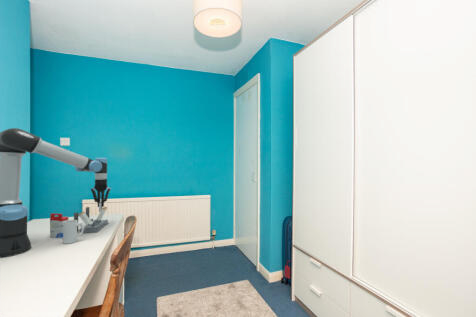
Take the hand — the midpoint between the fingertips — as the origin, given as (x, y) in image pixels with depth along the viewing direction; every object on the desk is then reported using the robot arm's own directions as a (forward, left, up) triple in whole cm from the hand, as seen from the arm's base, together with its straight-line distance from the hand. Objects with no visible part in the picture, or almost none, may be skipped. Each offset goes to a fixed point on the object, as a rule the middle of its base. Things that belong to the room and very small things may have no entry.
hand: (100, 211), depth 164 cm
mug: (-31, +4, -11) cm, 33 cm away
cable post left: (-12, +12, -11) cm, 20 cm away
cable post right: (+13, +12, -11) cm, 20 cm away
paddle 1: (-11, +2, -7) cm, 14 cm away
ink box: (-19, +17, -11) cm, 28 cm away
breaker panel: (-5, +2, -11) cm, 12 cm away
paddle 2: (0, +2, -7) cm, 7 cm away
